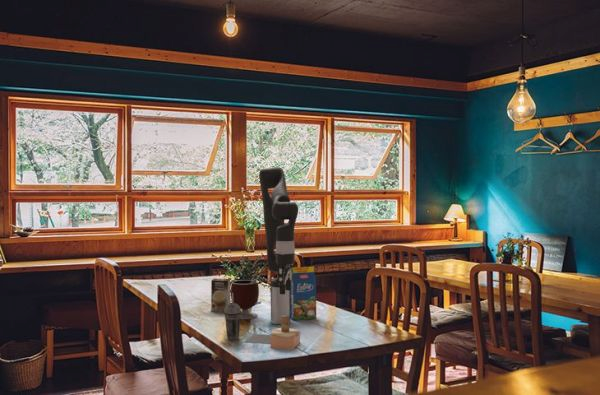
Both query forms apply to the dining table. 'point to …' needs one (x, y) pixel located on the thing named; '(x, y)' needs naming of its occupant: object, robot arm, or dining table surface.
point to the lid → (285, 329)
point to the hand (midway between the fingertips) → (285, 292)
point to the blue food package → (303, 294)
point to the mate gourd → (245, 296)
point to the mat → (259, 339)
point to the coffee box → (220, 294)
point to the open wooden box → (284, 342)
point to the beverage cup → (232, 320)
